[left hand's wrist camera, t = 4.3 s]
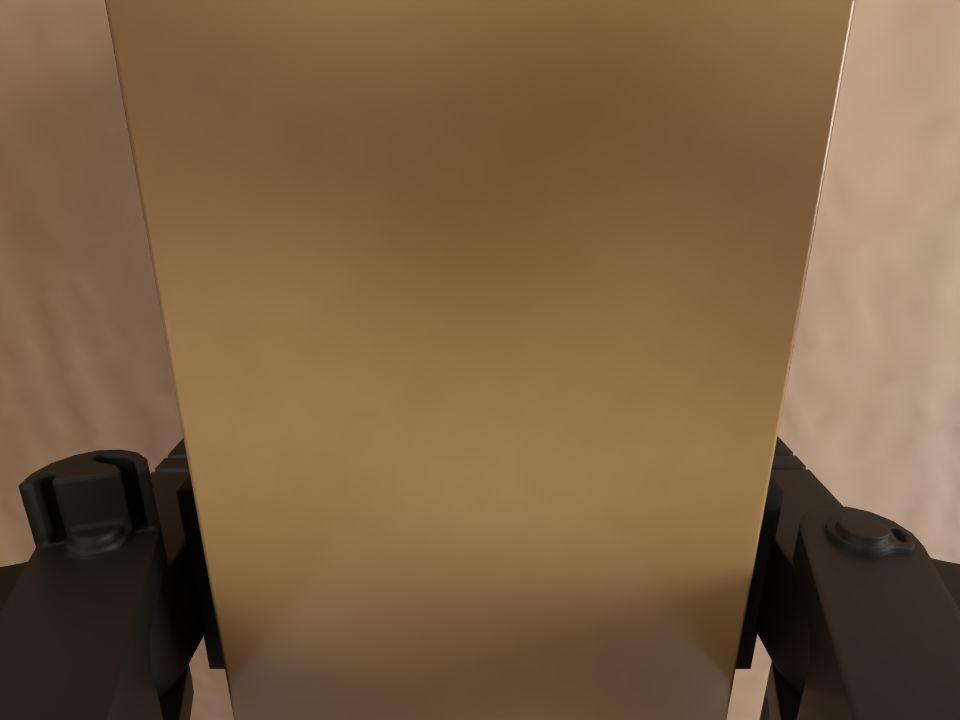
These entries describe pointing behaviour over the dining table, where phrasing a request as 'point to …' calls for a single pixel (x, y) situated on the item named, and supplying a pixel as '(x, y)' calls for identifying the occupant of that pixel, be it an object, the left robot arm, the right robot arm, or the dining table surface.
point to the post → (480, 334)
